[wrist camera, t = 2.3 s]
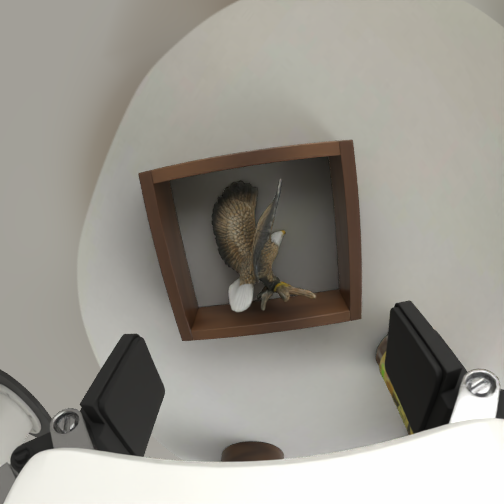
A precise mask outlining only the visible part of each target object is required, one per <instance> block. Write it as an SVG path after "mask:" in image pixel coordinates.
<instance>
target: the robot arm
mask: <svg viewBox="0 0 504 504" xmlns="http://www.w3.org/2000/svg"><path fill="white" fill-rule="evenodd" d="M385 370H386V373H387V375H388V377H389V379H390V382H391V384H392V386H393V388H394V390H395V393H396V395H397V397H398V399H399V402H400V404H401V406H402V408H403V411H404V413H405V415H406V418H407V420H408V422H409V425H410V427H411V430H412V432H413V434H412V435H408V436H405V437H401V438H397V439H394V440H390V441H386V442H382V443H377V444H373V445H369V446H365V447H360V448H355V449H350V450H345V451H340V452H334V453H328V454H321V455H315V456H307V457H299V458H290V459H279V460H266V461H245V462H202V461H181V460H167V459H157V458H147V457H143V456H144V454H145V450H146V448H147V444H148V441H149V438H150V436H151V433H152V430H153V427H154V424H155V421H156V418H157V415H158V412H159V409H160V406H161V403H162V401H163V398H164V395H165V388H164V385H163V383H162V381H161V378H160V376H159V374H158V372H157V369H156V367H155V365H154V362H153V360H152V358H151V355H150V353H149V350H148V348H147V345H146V343H145V340H144V339H143V338H142V337H140V336H139V335H138V334H124V335H123V336H122V337H121V339H120V340H119V342H118V343H117V345H116V346H115V348H114V350H113V351H112V353H111V354H110V356H109V357H108V359H107V360H106V362H105V364H104V365H103V367H102V368H101V370H100V372H99V373H98V375H97V377H96V378H95V380H94V382H93V383H92V385H91V387H90V388H89V390H88V391H87V393H86V395H85V396H84V398H83V400H82V402H81V403H80V405H81V407H82V408H81V410H80V411H78V410H77V409H73V408H68V409H64V410H62V411H60V412H58V413H57V414H56V415H55V416H54V417H53V419H52V420H51V422H50V432H49V433H46V434H44V435H42V436H40V437H38V438H35V439H33V440H31V441H29V442H26V443H24V444H23V442H24V440H25V439H26V437H27V435H28V434H29V432H30V433H33V434H37V433H39V431H40V430H41V424H40V421H39V419H38V418H37V416H36V415H35V413H34V412H33V411H32V409H31V408H30V407H29V406H28V405H27V404H26V403H25V402H24V401H23V400H22V399H21V398H20V397H19V396H18V395H17V394H15V393H14V392H13V391H12V390H10V389H9V388H7V387H6V386H4V385H2V384H0V504H504V390H502V389H500V381H499V379H498V377H497V376H496V375H495V374H494V373H492V372H491V371H488V370H485V369H474V370H471V371H469V372H467V371H466V369H465V368H464V367H463V365H462V364H461V362H460V361H459V360H458V358H457V357H456V356H455V354H454V353H453V352H452V350H451V349H450V348H449V346H448V345H447V344H446V343H445V341H444V340H443V339H442V337H441V336H440V335H439V334H438V332H437V331H436V330H434V329H433V328H432V326H431V325H430V324H429V323H428V321H427V320H426V319H425V318H424V316H423V315H422V314H421V313H420V312H419V310H418V309H417V308H416V307H415V305H414V304H413V303H412V302H411V301H405V302H400V303H396V304H395V306H394V308H391V310H390V320H389V331H388V340H387V348H386V356H385Z"/></svg>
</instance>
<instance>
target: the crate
mask: <svg viewBox="0 0 504 504" xmlns="http://www.w3.org/2000/svg"><path fill="white" fill-rule="evenodd" d="M325 156H328V157H329V165H330V174H331V183H332V193H333V203H334V214H335V226H336V240H337V256H338V276H339V289H337V290H331V291H324V292H317V293H313V294H315V295H316V298H315V299H310V298H307V297H305V296H300V295H297V296H290V297H289V300H288V301H287V302H284V301H283V300H282V298H275V299H268V300H267V302H266V307H265V310H264V311H263V310H262V309H261V302H262V300H260V301H252V303H251V305H250V307H248V309H246V310H244V311H242V312H236V311H233V310H232V308H231V306H230V304H226V305H217V306H208V307H198V303H197V299H196V295H195V291H194V288H193V284H192V280H191V276H190V271H189V267H188V263H187V259H186V255H185V251H184V246H183V242H182V238H181V233H180V229H179V224H178V219H177V215H176V210H175V205H174V200H173V195H172V190H171V185H170V180H174V179H179V178H184V177H189V176H194V175H199V174H205V173H210V172H216V171H222V170H228V169H234V168H240V167H246V166H253V165H260V164H267V163H274V162H281V161H289V160H298V159H306V158H315V157H325ZM139 179H140V184H141V189H142V194H143V198H144V203H145V208H146V212H147V216H148V221H149V225H150V229H151V233H152V237H153V241H154V245H155V249H156V253H157V257H158V261H159V265H160V268H161V272H162V276H163V279H164V283H165V286H166V290H167V293H168V297H169V300H170V303H171V307H172V310H173V313H174V316H175V320H176V323H177V326H178V329H179V332H180V335H181V338H182V341H191V340H204V339H217V338H228V337H238V336H247V335H256V334H265V333H273V332H281V331H288V330H296V329H303V328H309V327H316V326H322V325H329V324H335V323H341V322H346V321H352V320H358V319H361V313H362V257H361V229H360V212H359V197H358V185H357V174H356V165H355V155H354V147H353V140H341V141H328V142H317V143H307V144H298V145H290V146H281V147H274V148H266V149H259V150H252V151H246V152H240V153H234V154H228V155H222V156H216V157H211V158H205V159H200V160H195V161H190V162H185V163H180V164H176V165H171V166H167V167H162V168H158V169H154V170H149V171H145V172H141V173H139Z"/></svg>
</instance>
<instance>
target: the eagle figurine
mask: <svg viewBox="0 0 504 504" xmlns="http://www.w3.org/2000/svg"><path fill="white" fill-rule="evenodd" d="M281 185H282V180H281V179H280V180H279V184H278V188H277V192H276V195H275V198H274V200H273V201H272V203H271V204H270V205H269V206H268V208H267V209H266V210H265V211H264V213H263V214H262V216H261V218H260V219H259V221H258V224H257V227H256V226H255V207H256V202H257V195H258V192H257V191H258V190H257V188H256V187H252V186H251V184H249V183H248V184H244V182H242V181H239V182H238V183H235V182H233V183H232V184H231V186H230V188H225V190H224V192H223V197H221V196H220V197H218V202H216V203H215V204H214V208H213V214H212V225H213V230H214V235H215V236H216V238H215V239H216V243H217V246H218V251H219V254H220V255H221V258H222V259H223V260H224V262H225V264H226V265H228V267H231V268H232V269H233V270H236V272H237V273H240V277H239V278H238V279H237V280H236V281H235V282H234V283H232V284H231V285H230V287H229V291H228V295H229V304H230V306H231V308H232V310H233V311H236V312H242V311H244V310H246V309H248V307H250V305H251V303H252V300H253V287H254V285H255V282H256V281H257V283H260V282H259V280H260V281H262V282H263V283H264V285H265V287H264V288H263V289H262V291H261V292H260V293H259V294H258V295H257V297H256V298H257V299H259V298H261V297H262V302H261V309H262V310H263V311H264V310H265V307H266V302H267V300H268V299H269V298H270V297H271V296H272V295H273V292H276V293H277V292H278V294H279V296H280V297H281V298H282V300H283V301H284V302H287V301H288V300H289V297H290V295H300V296H305V297H307V298H310V299H315V298H316V295H315V294H313V293H312V292H311V291H309V290H304V289H300V288H294V287H292V286H291V285H289V284H286V283H284V282H280V280H279V279H278V278H277V277H276V276H274V275H273V272H272V263H273V261H274V260H275V258H276V256H277V254H278V250H279V246H280V244H281V241H282V238H283V235H284V234H285V231H284V230H282V231H278V232H275V233H273V234H272V235H271V230H272V226H273V222H274V218H275V212H276V208H277V205H278V200H279V196H280V193H281Z"/></svg>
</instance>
